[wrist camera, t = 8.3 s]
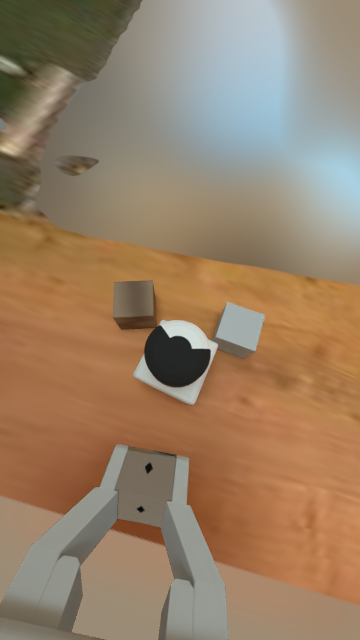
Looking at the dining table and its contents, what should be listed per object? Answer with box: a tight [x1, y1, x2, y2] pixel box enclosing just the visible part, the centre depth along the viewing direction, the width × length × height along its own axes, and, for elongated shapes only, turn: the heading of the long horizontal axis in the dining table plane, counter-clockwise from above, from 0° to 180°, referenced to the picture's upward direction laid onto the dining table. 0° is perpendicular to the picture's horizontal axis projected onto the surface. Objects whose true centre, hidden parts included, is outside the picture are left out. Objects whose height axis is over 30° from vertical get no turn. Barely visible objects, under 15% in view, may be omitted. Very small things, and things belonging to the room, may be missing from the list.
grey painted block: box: [212, 302, 265, 359], centre depth 31 cm, size 5×5×5 cm
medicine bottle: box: [134, 320, 218, 405], centre depth 26 cm, size 7×7×12 cm
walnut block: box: [113, 280, 156, 330], centre depth 32 cm, size 5×5×5 cm
